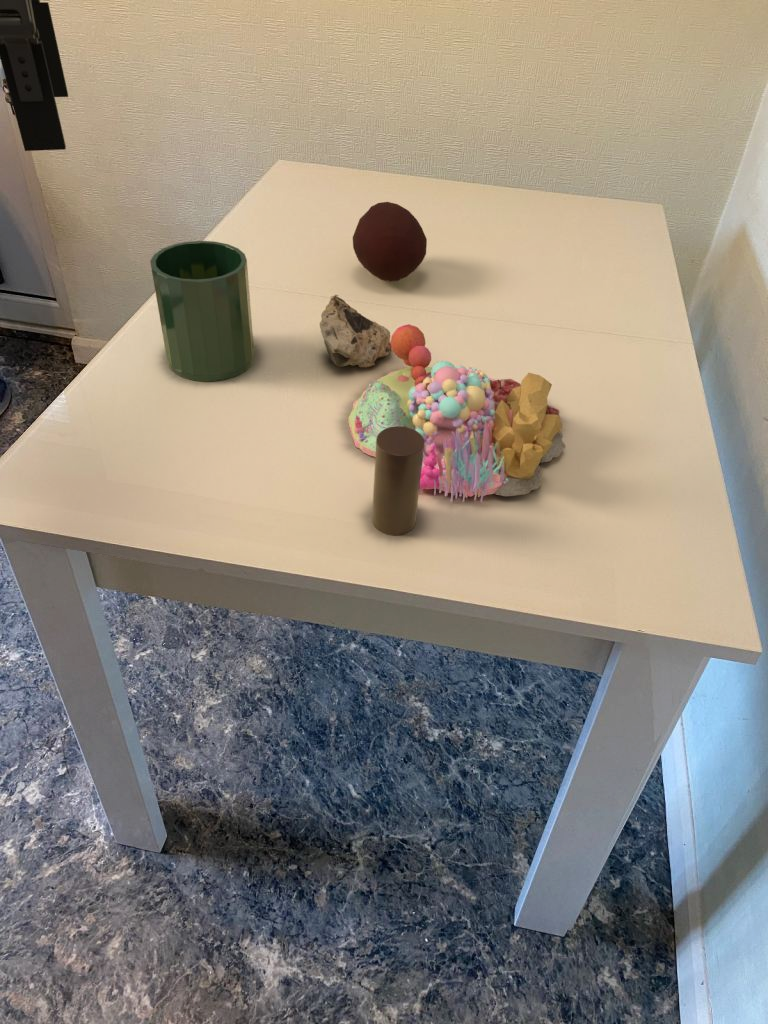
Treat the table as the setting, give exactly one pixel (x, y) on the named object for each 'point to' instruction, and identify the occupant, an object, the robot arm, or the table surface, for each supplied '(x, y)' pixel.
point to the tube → (204, 309)
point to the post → (397, 479)
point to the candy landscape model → (462, 422)
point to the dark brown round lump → (389, 241)
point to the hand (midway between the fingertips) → (48, 120)
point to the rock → (352, 335)
